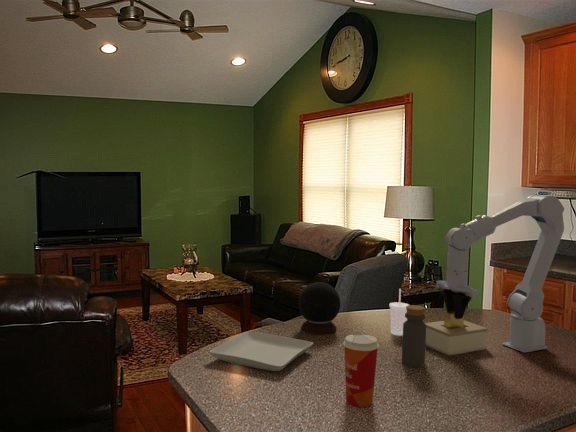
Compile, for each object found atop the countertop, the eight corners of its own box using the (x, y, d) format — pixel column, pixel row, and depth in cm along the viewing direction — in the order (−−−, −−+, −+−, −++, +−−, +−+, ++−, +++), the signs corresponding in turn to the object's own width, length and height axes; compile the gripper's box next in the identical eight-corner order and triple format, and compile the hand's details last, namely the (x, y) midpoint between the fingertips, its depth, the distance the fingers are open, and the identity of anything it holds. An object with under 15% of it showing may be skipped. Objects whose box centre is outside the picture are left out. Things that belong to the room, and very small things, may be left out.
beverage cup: (411, 332, 167) (413, 288, 166) (404, 337, 162) (406, 291, 160) (392, 329, 170) (394, 285, 169) (385, 333, 165) (386, 289, 164)
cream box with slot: (458, 337, 162) (459, 318, 162) (486, 349, 152) (487, 328, 152) (422, 343, 156) (422, 323, 155) (448, 355, 146) (449, 334, 146)
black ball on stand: (289, 330, 166) (290, 283, 165) (310, 321, 177) (311, 276, 176) (327, 338, 159) (328, 288, 158) (346, 328, 170) (348, 281, 169)
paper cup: (338, 394, 119) (340, 333, 118) (372, 394, 120) (374, 333, 119) (345, 410, 111) (347, 344, 110) (381, 409, 112) (383, 344, 111)
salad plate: (314, 352, 148) (315, 340, 147) (281, 379, 129) (281, 365, 128) (247, 341, 157) (247, 329, 156) (207, 364, 137) (207, 351, 137)
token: (457, 325, 156) (457, 310, 155) (463, 327, 153) (464, 312, 153) (443, 327, 154) (444, 311, 153) (450, 330, 151) (450, 314, 151)
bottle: (425, 368, 136) (427, 310, 135) (401, 366, 137) (403, 309, 136) (424, 360, 142) (426, 305, 141) (401, 358, 143) (403, 303, 142)
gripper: (429, 266, 157) (427, 312, 158) (465, 275, 144) (463, 325, 145) (447, 265, 160) (445, 309, 161) (484, 274, 147) (482, 322, 148)
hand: (455, 317), depth 153 cm, fingers closed on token, 3 cm apart
